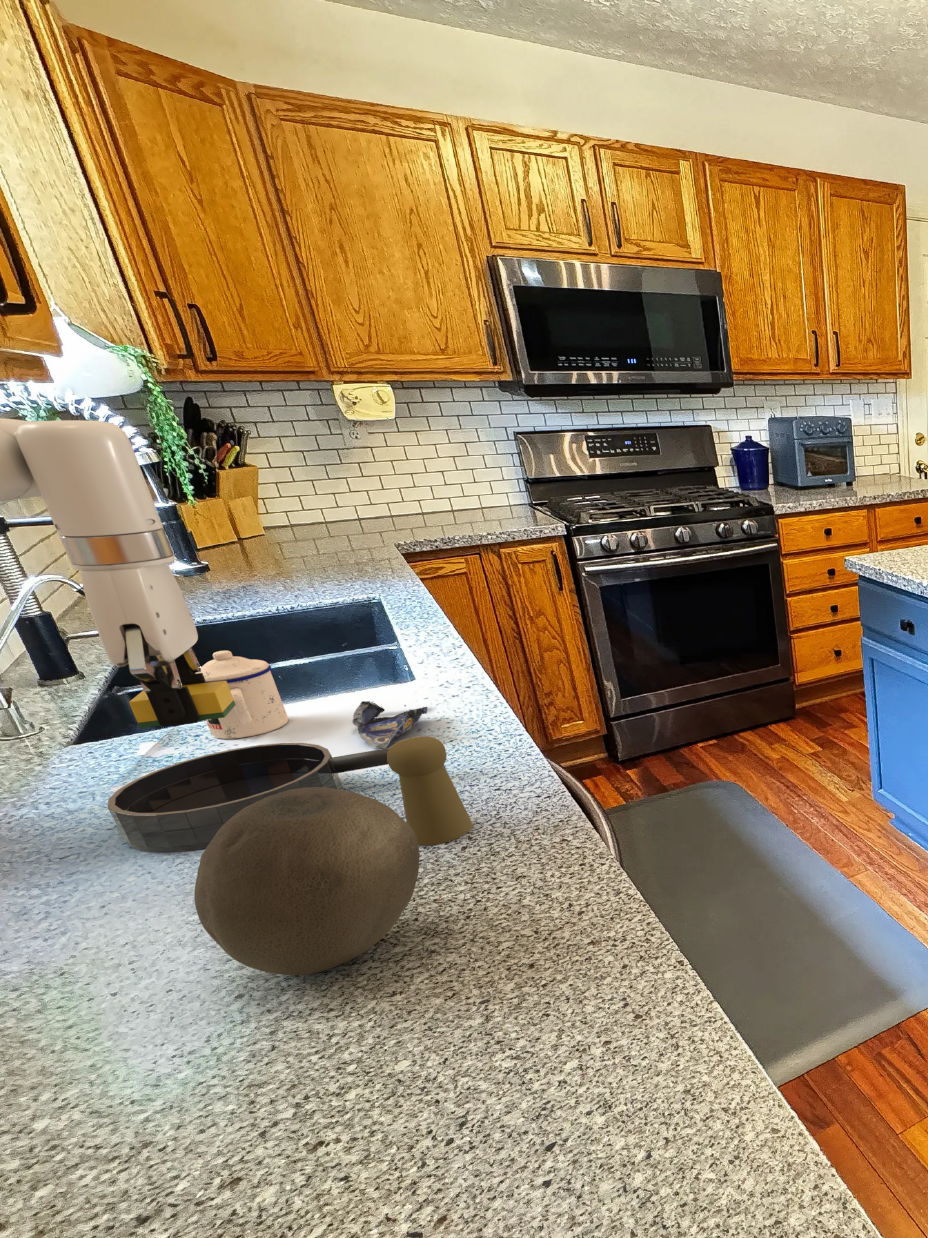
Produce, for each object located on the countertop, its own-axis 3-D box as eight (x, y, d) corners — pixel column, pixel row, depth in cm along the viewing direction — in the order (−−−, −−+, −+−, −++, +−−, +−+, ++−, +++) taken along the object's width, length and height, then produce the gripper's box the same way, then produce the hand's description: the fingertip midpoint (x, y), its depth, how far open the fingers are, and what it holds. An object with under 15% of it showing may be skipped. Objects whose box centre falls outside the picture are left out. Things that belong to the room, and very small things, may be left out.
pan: (95, 870, 82) (74, 832, 80) (159, 796, 98) (144, 762, 96) (327, 824, 91) (313, 789, 89) (353, 763, 106) (342, 732, 104)
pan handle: (327, 777, 96) (321, 762, 96) (329, 771, 98) (324, 756, 97) (444, 756, 102) (439, 742, 101) (445, 751, 103) (440, 737, 103)
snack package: (318, 753, 110) (402, 750, 109) (307, 707, 108) (392, 704, 108) (384, 734, 121) (460, 731, 121) (375, 692, 120) (452, 689, 119)
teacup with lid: (209, 727, 118) (177, 651, 113) (288, 712, 124) (260, 639, 119) (211, 751, 110) (176, 670, 105) (295, 734, 116) (266, 656, 111)
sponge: (139, 728, 86) (128, 702, 85) (154, 714, 90) (143, 689, 88) (224, 717, 89) (214, 691, 88) (235, 705, 93) (226, 680, 92)
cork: (464, 813, 93) (438, 725, 89) (479, 831, 89) (452, 740, 85) (403, 831, 89) (372, 740, 85) (415, 851, 85) (383, 757, 81)
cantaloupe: (311, 1028, 61) (237, 859, 55) (196, 986, 66) (116, 825, 60) (477, 923, 73) (431, 775, 67) (370, 894, 78) (318, 753, 72)
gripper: (104, 540, 87) (170, 698, 95) (28, 567, 74) (112, 749, 81) (194, 536, 91) (252, 688, 98) (138, 560, 77) (210, 735, 84)
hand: (188, 714), depth 89 cm, fingers closed on sponge, 4 cm apart
